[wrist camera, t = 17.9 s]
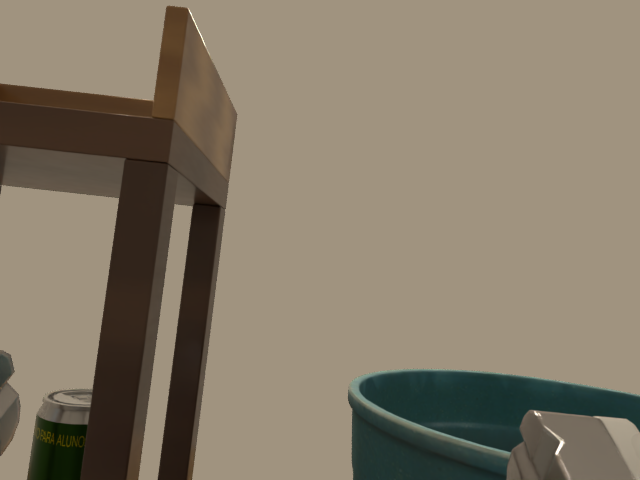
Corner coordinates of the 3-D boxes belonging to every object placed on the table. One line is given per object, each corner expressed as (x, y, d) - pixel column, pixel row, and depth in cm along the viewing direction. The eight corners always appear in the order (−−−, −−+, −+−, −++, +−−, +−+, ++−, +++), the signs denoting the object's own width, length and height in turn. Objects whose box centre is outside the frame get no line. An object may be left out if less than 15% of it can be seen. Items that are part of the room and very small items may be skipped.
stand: (63, 956, 16) (188, 7, 19) (-399, 907, 16) (-216, -39, 19) (168, 672, 28) (237, 113, 31) (-99, 643, 28) (-10, 86, 31)
